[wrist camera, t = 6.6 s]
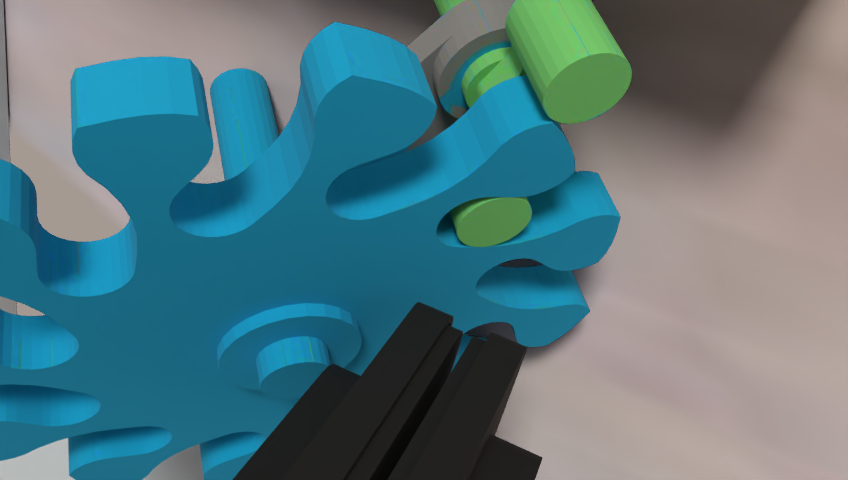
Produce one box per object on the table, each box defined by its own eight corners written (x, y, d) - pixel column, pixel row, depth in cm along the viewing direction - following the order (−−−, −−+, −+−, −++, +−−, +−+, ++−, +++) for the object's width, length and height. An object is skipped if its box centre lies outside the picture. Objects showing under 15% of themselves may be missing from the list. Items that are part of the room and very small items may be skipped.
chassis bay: (902, -174, 10) (961, -177, 7) (522, 620, 18) (476, 770, 15) (-85, -427, 13) (-331, -502, 10) (-24, 352, 21) (-149, 434, 18)
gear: (313, 533, 17) (-288, 503, 10) (268, 298, 20) (-207, 146, 13) (803, 252, 12) (355, -195, 5) (642, 7, 16) (230, -474, 8)
